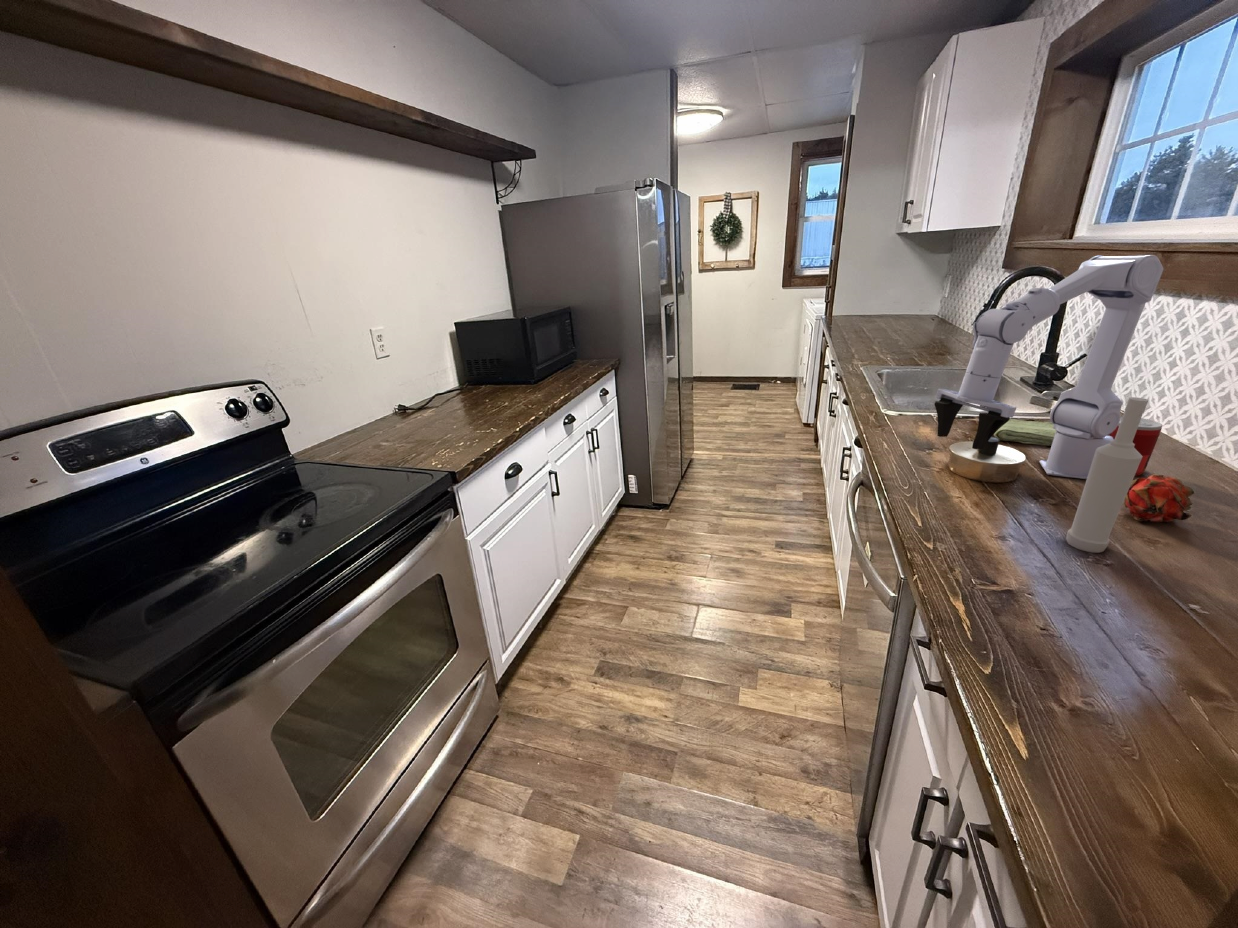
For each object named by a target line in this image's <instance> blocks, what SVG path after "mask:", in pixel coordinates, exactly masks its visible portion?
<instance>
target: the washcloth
mask: <svg viewBox="0 0 1238 928" xmlns="http://www.w3.org/2000/svg"><path fill="white" fill-rule="evenodd" d="M1053 427H1054V424H1052V423H1051V421H1050V422H1049V421H1035V420H1034V421H1032V420H1030V421H1029V420H1021V419H1015V418H1010V419H1009V421H1008V422H1007V423H1005V424H1004V425H1003V426H1002V427H1001V428H999V429H998V430H997V431H996V432H995V433H994V434H993V437H994V438H997V439H999V441H1005V442H1015V443H1016V442H1017V443H1021V444H1023V445H1024V444H1028V445H1029V444H1030V445H1039V446H1048V447H1049V446H1052V443H1053V440H1054V436H1055V433H1056V430H1055V429H1053Z"/></svg>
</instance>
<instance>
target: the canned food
mask: <svg viewBox="0 0 1238 928" xmlns="http://www.w3.org/2000/svg"><path fill="white" fill-rule="evenodd" d="M1122 418H1123V416H1120V421H1119V424H1118V426H1117V427H1116V429H1115V430H1114V431H1113V432H1112V433H1110V434H1109V435H1107V436H1111V437H1113V439H1115V437H1116V434H1117V431H1118V429H1119V426H1120V423H1121V420H1122ZM1162 428H1163V424H1162V423H1160V422H1158V421H1155V420H1153V419H1148V418H1143V417H1141V420H1140V423H1139V425H1138V428H1137V431H1136V434H1135V436H1134V439H1133V443H1134V444H1135V446H1134V448H1135V449H1136V450H1137V451H1138V452H1139V453H1140V454H1141V455H1142V456H1143V457H1142V459H1141V461H1140V464H1139V466H1138V469H1137V471H1136V473H1135V476H1134V477H1136V476H1137V477H1138V476H1141V475H1142V474H1144V473H1145V472H1146V468H1147V467H1148V464H1149V461H1150V459H1151V457H1152V455H1153V452H1154V449H1155V447H1156V444H1157V442H1158V440H1159V437H1160V435H1161V432H1162Z"/></svg>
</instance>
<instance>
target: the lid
mask: <svg viewBox="0 0 1238 928" xmlns="http://www.w3.org/2000/svg"><path fill="white" fill-rule="evenodd" d="M973 442H974V440H972V441H971V440H970V441H969V440H968V441H967V440H966V441H958V442H954V443H952V444H950V446H949V451H948V452H949V453H950V454H951V453H952V454H953V455H955V456H956V457H958V458H961V459H963V460H966V461H970V462H974V463H978V464H984V465H991V466H1016V465H1020V464H1021V465H1022V464H1025V462H1026V455H1025V454H1024V453H1023V452H1021V451H1019V450H1018V449H1015V448H1012V447H1010V446H1006V445H1002V444H999V443H1000V439H997V438H995V437H994V436H992V437H991V438H990V439H989V440H988V442H987V443H986V445H985V446H984V448H983V449H973V448H972V446H973Z"/></svg>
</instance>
